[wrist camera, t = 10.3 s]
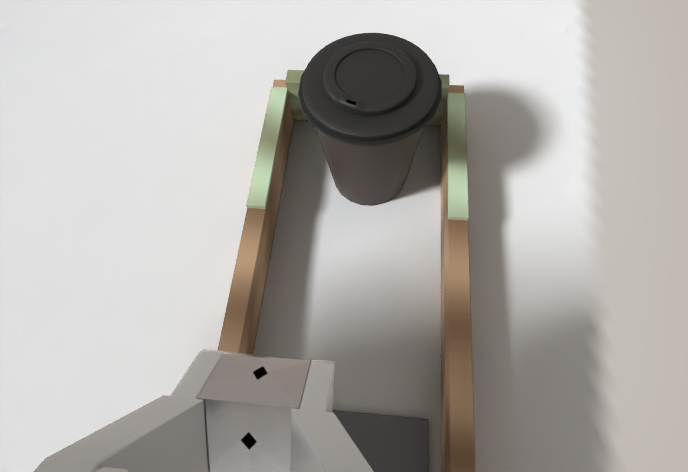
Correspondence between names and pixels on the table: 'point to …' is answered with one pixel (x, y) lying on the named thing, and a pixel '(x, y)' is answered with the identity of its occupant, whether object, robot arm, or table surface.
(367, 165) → the coffee cup
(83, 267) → the table surface
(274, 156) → the trap box
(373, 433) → the mats
